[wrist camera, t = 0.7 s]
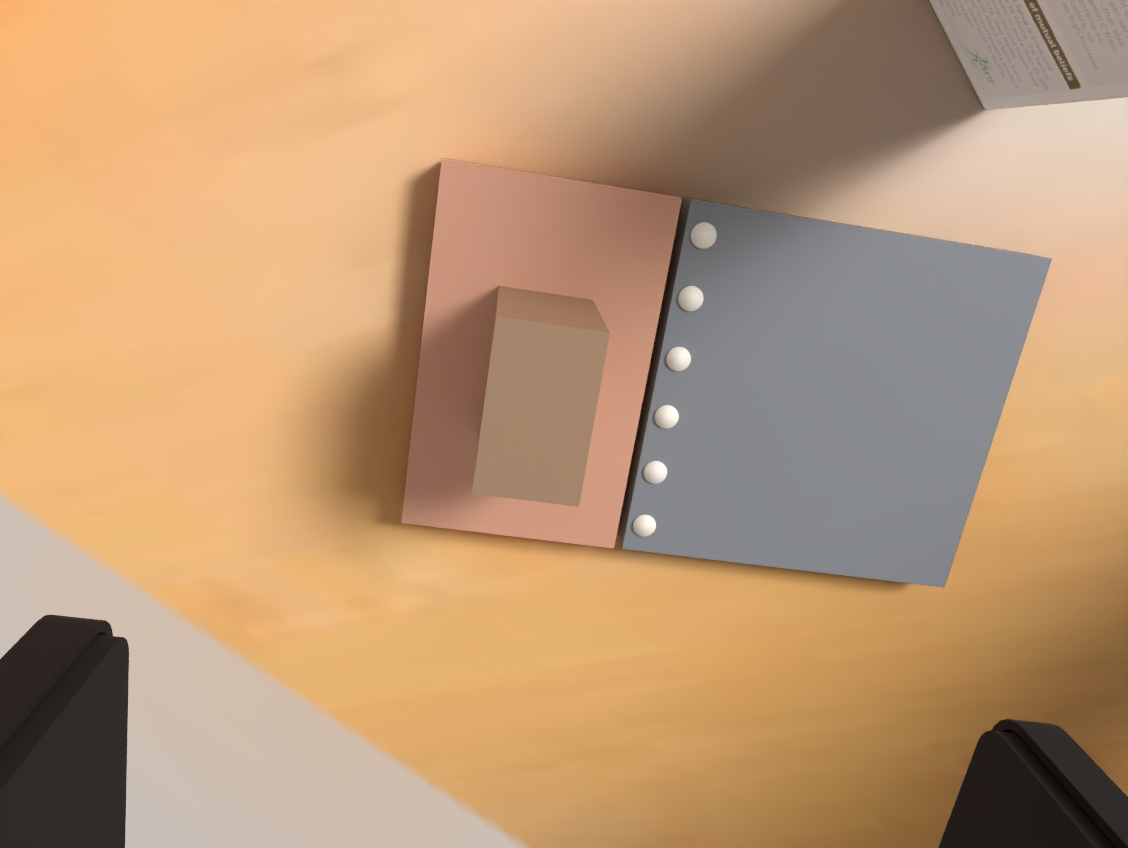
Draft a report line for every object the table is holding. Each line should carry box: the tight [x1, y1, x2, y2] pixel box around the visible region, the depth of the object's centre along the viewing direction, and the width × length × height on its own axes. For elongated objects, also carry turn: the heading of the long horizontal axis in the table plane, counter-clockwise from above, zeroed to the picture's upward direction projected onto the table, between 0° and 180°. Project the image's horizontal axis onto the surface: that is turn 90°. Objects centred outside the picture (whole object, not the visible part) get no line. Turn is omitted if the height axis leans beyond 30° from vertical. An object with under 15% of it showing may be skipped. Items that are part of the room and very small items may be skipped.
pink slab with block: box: [401, 158, 682, 548], centre depth 26 cm, size 7×12×6 cm, turn 171°
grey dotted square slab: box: [618, 198, 1052, 587], centre depth 29 cm, size 12×12×1 cm
